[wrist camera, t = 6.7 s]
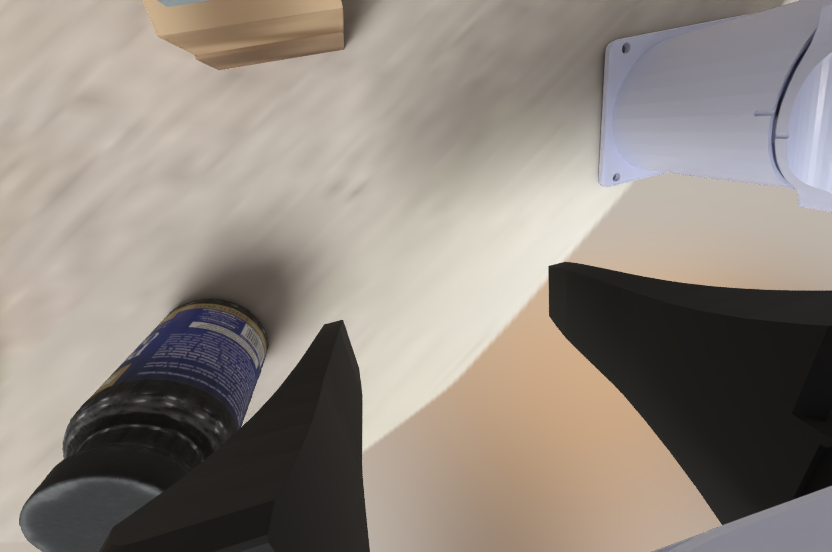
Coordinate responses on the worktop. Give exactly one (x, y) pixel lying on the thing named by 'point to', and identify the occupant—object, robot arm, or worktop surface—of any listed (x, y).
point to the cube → (178, 2)
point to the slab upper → (242, 22)
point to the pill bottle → (149, 424)
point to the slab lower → (273, 51)
